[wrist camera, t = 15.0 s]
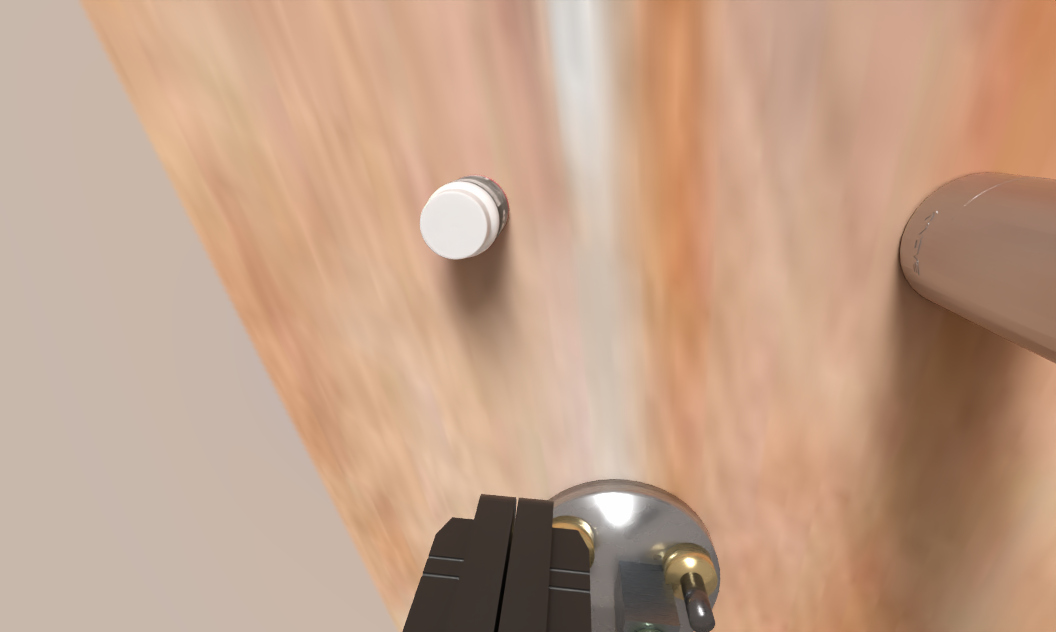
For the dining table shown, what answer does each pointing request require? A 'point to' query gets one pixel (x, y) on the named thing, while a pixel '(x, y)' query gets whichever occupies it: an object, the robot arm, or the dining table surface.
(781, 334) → the dining table surface
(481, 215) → the pill bottle
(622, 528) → the tribrach plate
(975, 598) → the dining table surface
